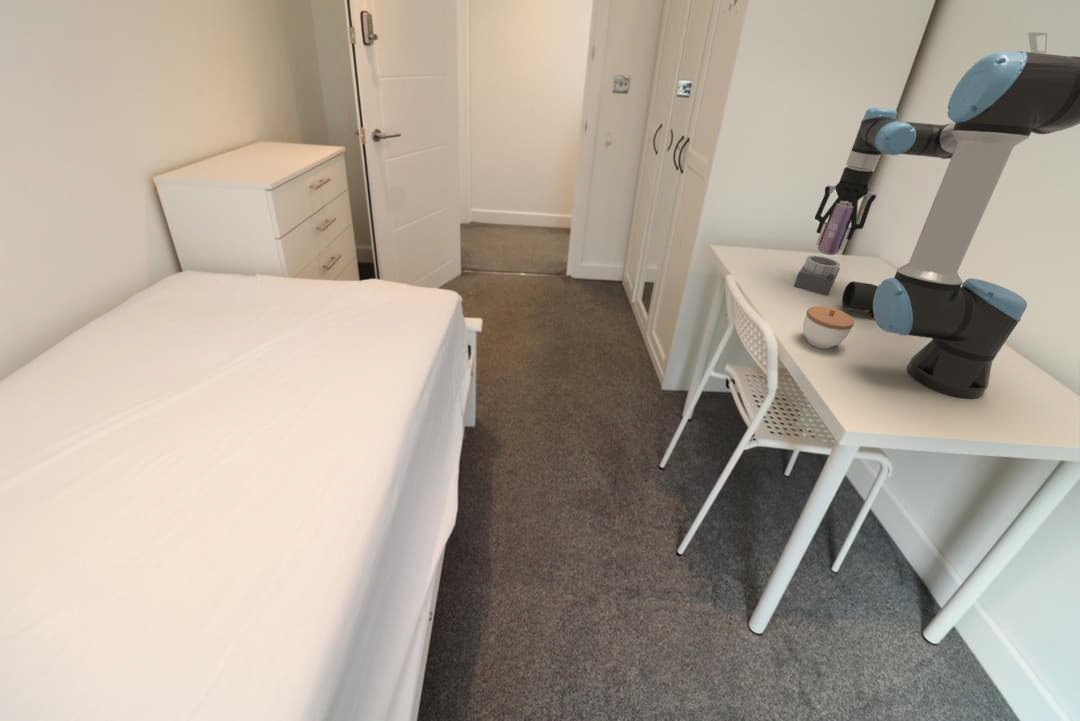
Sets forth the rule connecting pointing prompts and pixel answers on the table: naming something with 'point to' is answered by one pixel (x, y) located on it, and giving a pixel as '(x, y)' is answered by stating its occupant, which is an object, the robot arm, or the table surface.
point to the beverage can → (836, 228)
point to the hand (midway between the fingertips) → (829, 246)
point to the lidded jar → (826, 326)
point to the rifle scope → (859, 296)
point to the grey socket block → (818, 274)
